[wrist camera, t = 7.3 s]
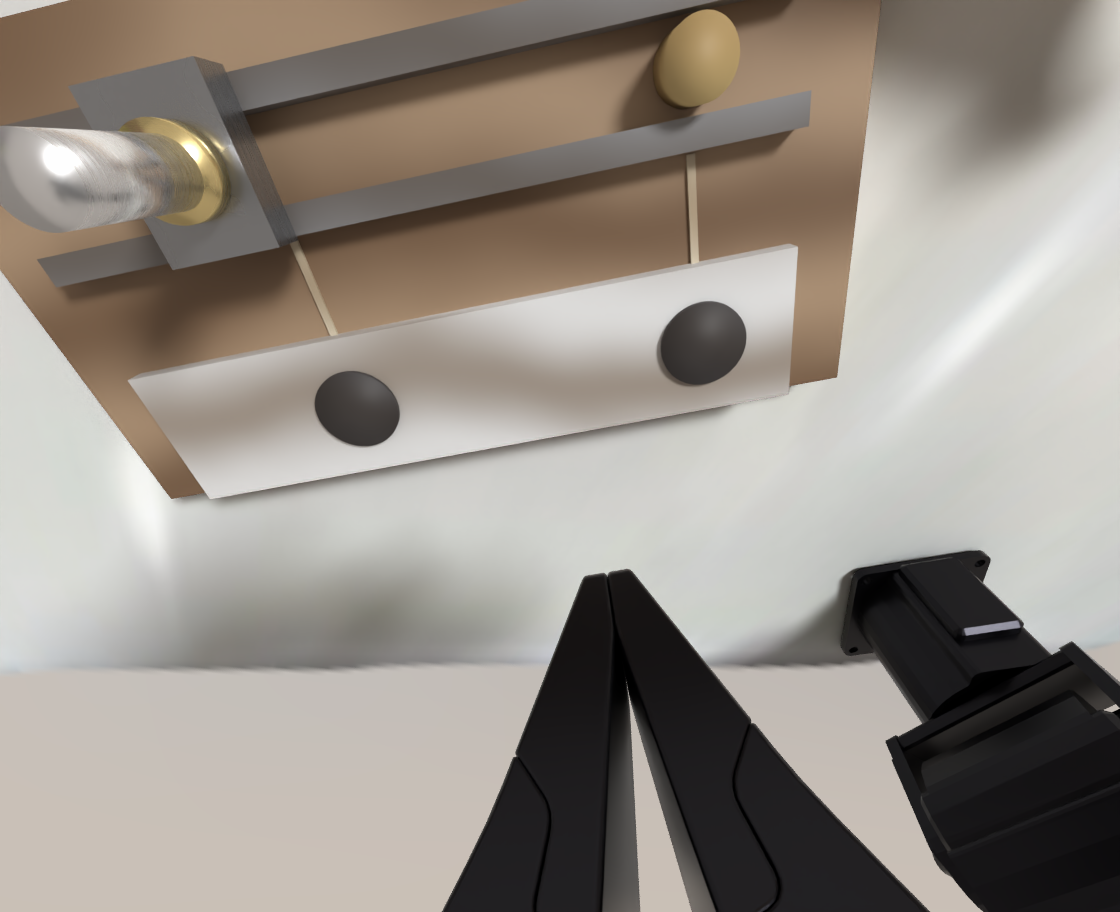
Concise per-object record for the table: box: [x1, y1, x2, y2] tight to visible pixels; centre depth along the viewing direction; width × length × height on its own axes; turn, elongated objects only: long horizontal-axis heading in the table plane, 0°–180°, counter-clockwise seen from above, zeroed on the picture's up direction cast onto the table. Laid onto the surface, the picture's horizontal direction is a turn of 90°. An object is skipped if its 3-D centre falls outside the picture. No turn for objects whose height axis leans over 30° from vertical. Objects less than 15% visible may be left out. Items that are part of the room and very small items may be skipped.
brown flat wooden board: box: [0, 0, 881, 499], centre depth 15 cm, size 14×26×3 cm, turn 100°
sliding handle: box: [0, 56, 298, 270], centre depth 11 cm, size 4×3×5 cm
